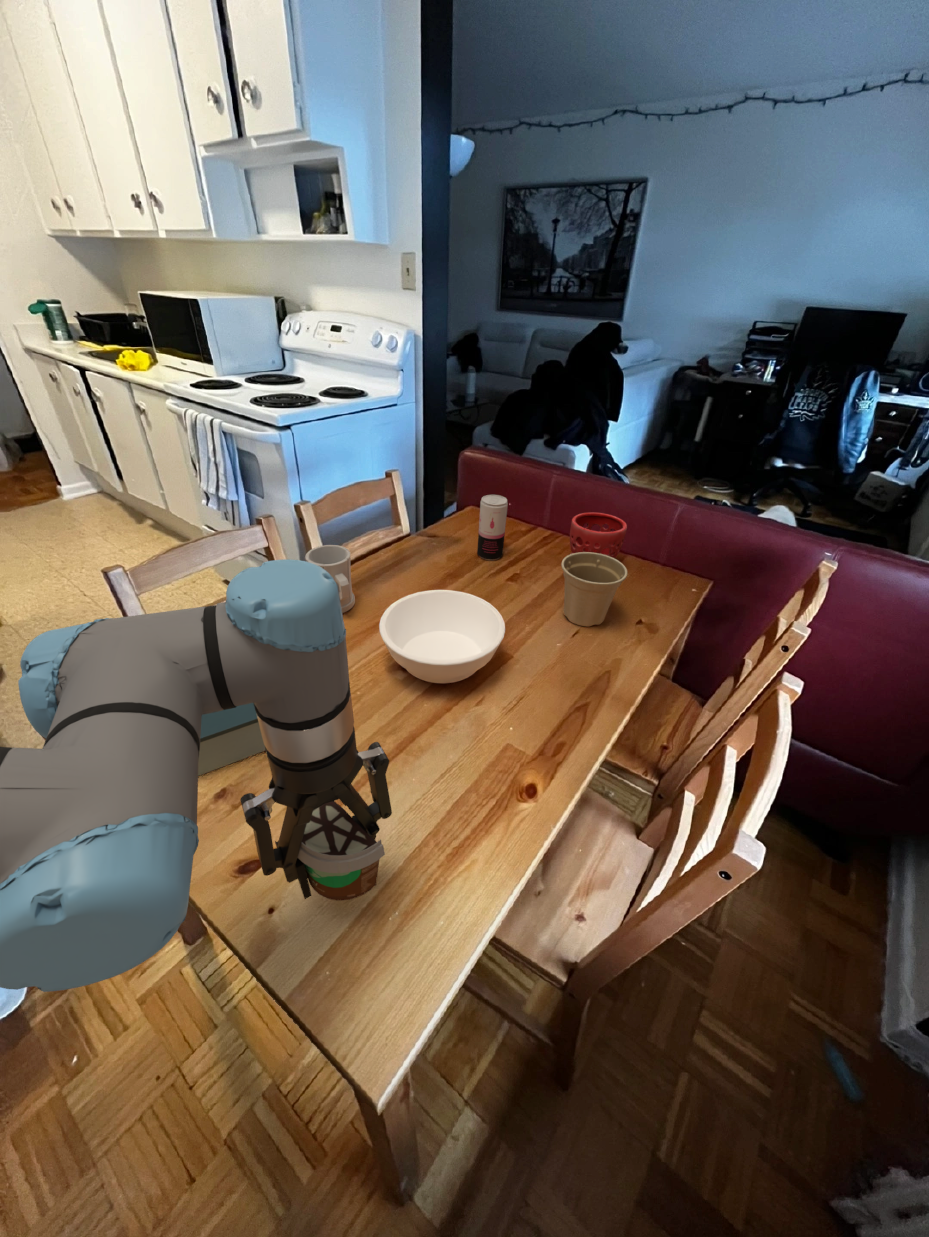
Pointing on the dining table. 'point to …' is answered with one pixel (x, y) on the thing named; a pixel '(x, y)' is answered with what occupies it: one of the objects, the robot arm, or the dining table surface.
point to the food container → (339, 854)
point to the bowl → (442, 634)
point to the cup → (335, 570)
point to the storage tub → (229, 737)
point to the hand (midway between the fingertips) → (334, 870)
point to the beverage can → (492, 526)
